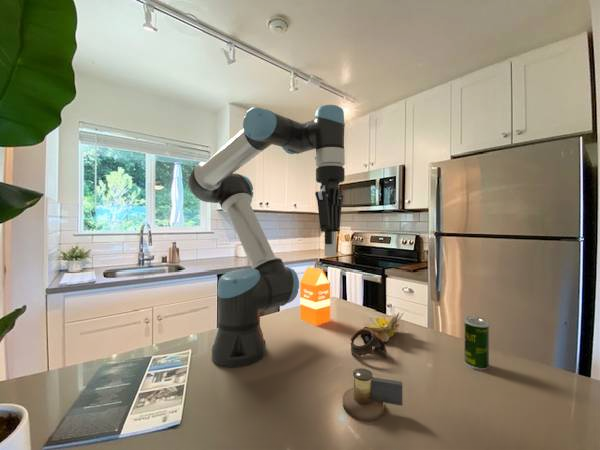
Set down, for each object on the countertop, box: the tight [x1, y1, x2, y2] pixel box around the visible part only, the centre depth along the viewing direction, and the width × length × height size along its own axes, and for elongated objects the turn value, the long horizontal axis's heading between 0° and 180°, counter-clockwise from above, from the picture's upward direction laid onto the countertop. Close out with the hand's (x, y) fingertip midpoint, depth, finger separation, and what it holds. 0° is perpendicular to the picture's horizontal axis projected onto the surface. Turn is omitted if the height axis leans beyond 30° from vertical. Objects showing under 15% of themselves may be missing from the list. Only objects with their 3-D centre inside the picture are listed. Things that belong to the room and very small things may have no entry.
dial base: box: [342, 387, 384, 422], centre depth 55 cm, size 8×8×2 cm
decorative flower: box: [363, 312, 404, 342], centre depth 91 cm, size 15×11×10 cm
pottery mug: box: [350, 326, 388, 359], centre depth 78 cm, size 12×10×8 cm
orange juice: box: [299, 266, 331, 326], centre depth 104 cm, size 8×9×20 cm
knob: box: [352, 367, 403, 406], centre depth 54 cm, size 9×4×5 cm, turn 73°
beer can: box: [464, 315, 490, 371], centre depth 71 cm, size 5×5×12 cm
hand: (330, 256), depth 72 cm, fingers closed
